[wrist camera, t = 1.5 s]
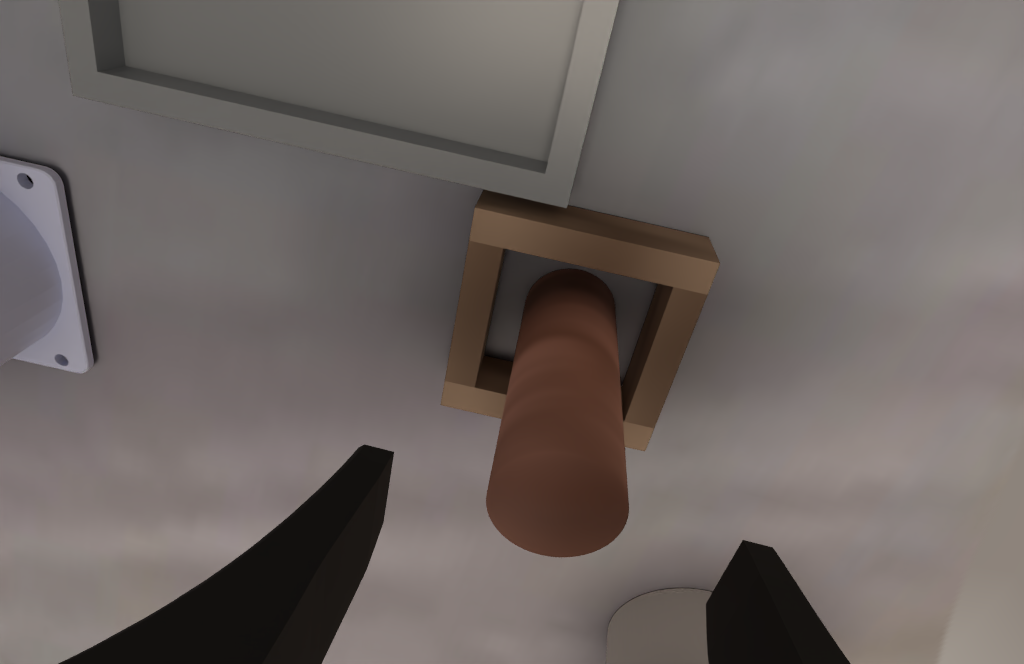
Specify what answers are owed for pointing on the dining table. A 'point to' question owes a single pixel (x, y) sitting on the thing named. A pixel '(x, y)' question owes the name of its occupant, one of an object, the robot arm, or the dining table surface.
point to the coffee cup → (660, 629)
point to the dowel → (562, 424)
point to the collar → (594, 244)
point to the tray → (363, 78)
